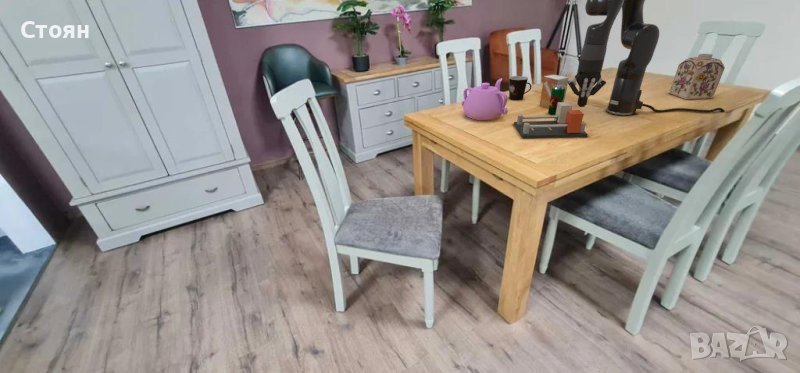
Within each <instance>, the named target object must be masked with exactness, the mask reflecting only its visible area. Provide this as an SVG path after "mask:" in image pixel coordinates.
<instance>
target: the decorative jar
mask: <svg viewBox="0 0 800 373" xmlns="http://www.w3.org/2000/svg"><path fill="white" fill-rule="evenodd" d="M725 69H726V67H725V65H724V63H723V62H722V60H721V59H720V58H718V59H717V58H715V57H713V53H699V54H698V55H697V56H694V57H688V58H687V59H684V60H683V61H681V62H680V63H679V64H678V66H677V69H676V71H675V74H674V77H673V80H672V82H671V86H670V89H669V92H668V94H669V95H672V96H675V97H678V98H680V99H683V100H705V99H707V100H708V99H714V96H715V93H716V91H717V89H718V87H719V84H720V82H721V79H722V76H723V74H724V71H725Z"/></svg>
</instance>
